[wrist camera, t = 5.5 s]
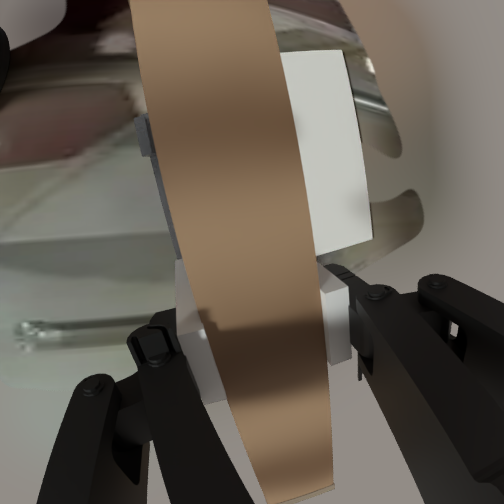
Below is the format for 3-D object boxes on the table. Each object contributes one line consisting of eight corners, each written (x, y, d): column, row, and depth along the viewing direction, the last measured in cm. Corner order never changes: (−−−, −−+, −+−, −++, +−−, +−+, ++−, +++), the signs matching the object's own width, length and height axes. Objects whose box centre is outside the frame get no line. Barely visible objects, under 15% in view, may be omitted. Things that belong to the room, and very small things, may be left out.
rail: (136, 22, 8) (125, -19, 6) (238, 5, 9) (259, -37, 6) (256, 469, 16) (269, 510, 13) (314, 450, 16) (334, 488, 13)
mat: (268, 55, 31) (270, 53, 30) (339, 51, 32) (341, 49, 32) (307, 256, 39) (309, 257, 38) (370, 237, 40) (372, 238, 40)
